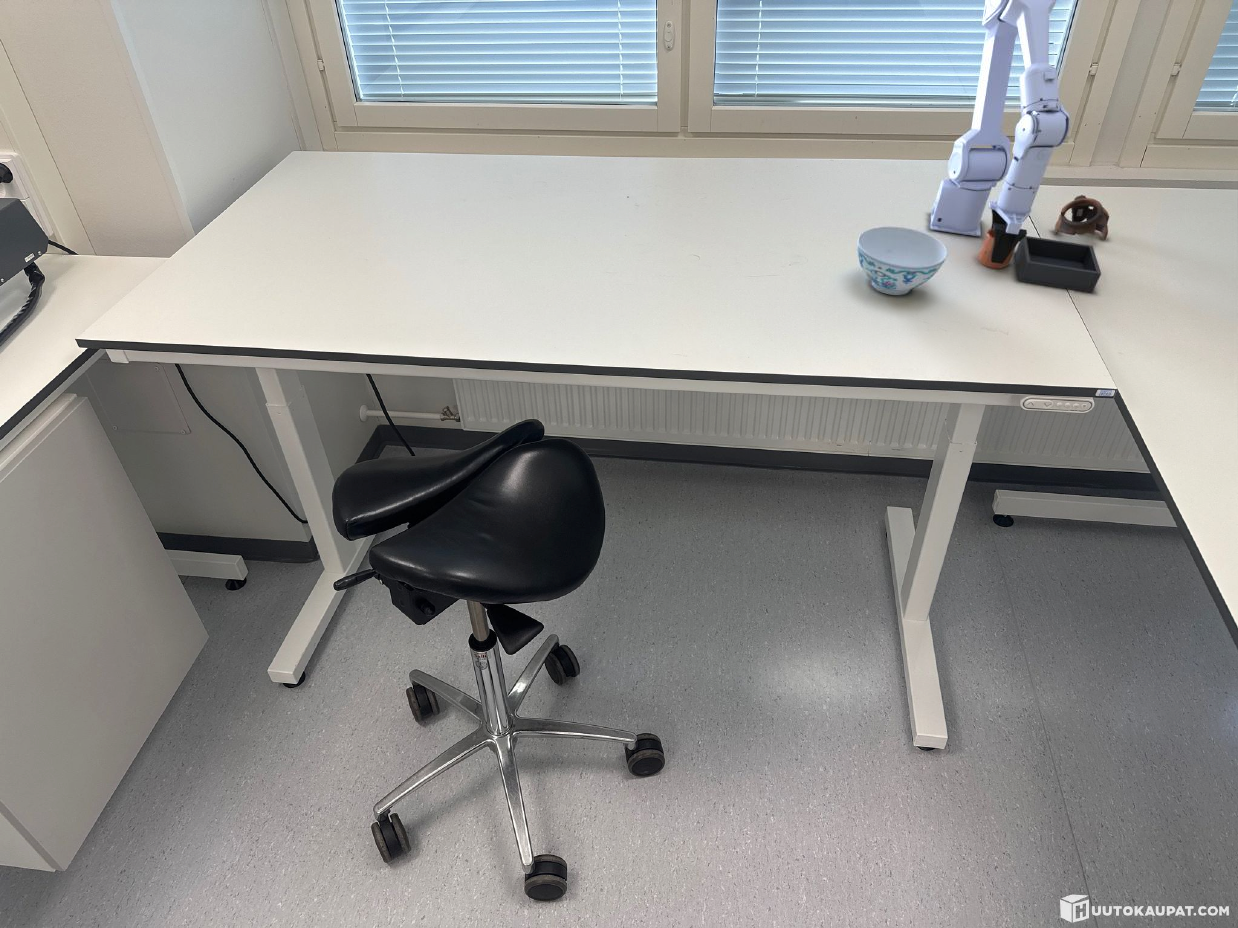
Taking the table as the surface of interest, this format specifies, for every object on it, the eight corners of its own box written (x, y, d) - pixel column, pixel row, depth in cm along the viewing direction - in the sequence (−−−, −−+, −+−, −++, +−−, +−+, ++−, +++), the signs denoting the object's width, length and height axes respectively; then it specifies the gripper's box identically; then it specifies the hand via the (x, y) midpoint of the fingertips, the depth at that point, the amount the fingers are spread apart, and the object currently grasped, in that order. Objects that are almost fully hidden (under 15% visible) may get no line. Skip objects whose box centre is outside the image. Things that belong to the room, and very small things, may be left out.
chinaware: (887, 315, 135) (899, 273, 130) (831, 275, 145) (840, 235, 140) (952, 296, 141) (966, 256, 135) (894, 259, 150) (905, 220, 145)
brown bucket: (977, 266, 149) (987, 239, 146) (977, 253, 153) (986, 226, 150) (1008, 271, 148) (1019, 243, 145) (1007, 258, 152) (1017, 231, 148)
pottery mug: (1115, 249, 157) (1115, 218, 151) (1061, 263, 161) (1059, 233, 155) (1099, 209, 164) (1099, 177, 158) (1048, 223, 168) (1045, 193, 162)
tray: (1019, 281, 145) (1026, 262, 143) (1015, 253, 154) (1022, 235, 151) (1092, 293, 143) (1101, 273, 140) (1084, 264, 151) (1092, 245, 149)
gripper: (996, 164, 147) (972, 234, 156) (1000, 195, 136) (974, 267, 145) (1037, 170, 145) (1010, 239, 154) (1044, 201, 135) (1015, 274, 144)
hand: (995, 253), depth 150 cm, fingers open, 6 cm apart
